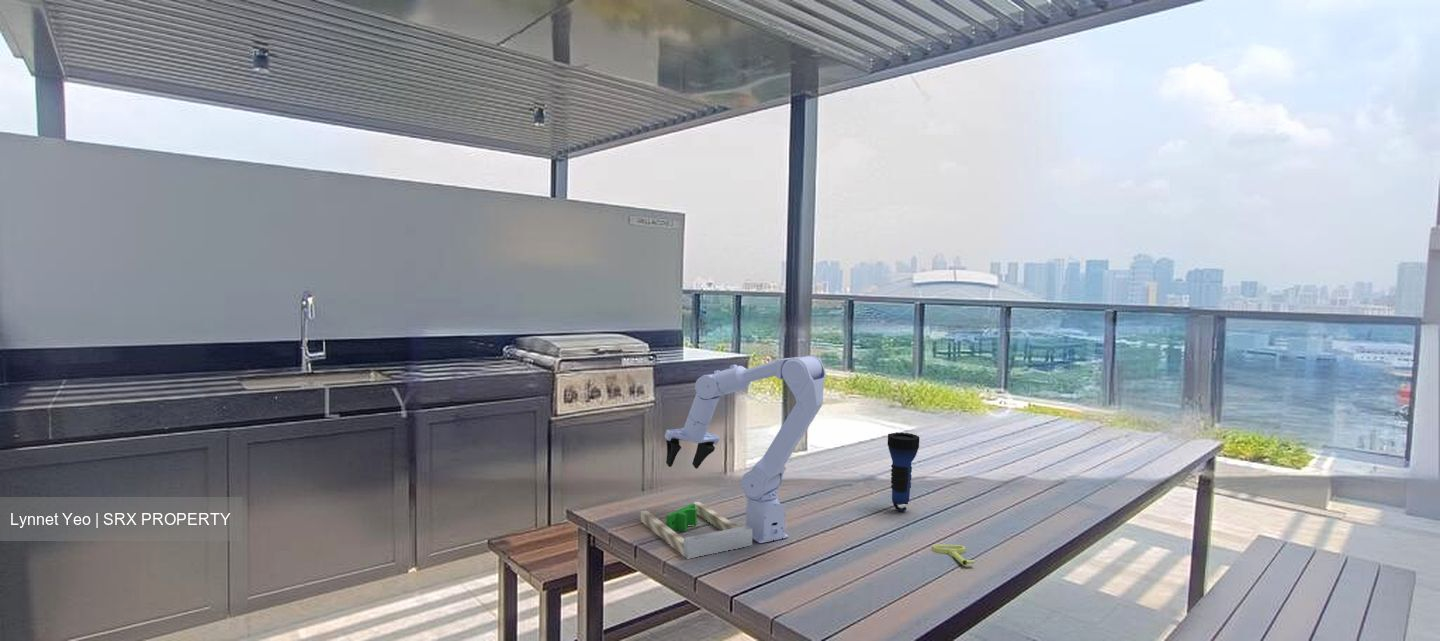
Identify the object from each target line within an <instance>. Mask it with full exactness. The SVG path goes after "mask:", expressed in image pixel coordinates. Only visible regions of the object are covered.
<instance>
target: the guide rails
mask: <svg viewBox="0 0 1440 641" xmlns="http://www.w3.org/2000/svg"><path fill="white" fill-rule="evenodd" d="M692 504H695V509H697V514H698V515H700V516H701V517H700V516H699V517H700V518H702V517H703V518H704V519H703V518H702V519H703V520H705V521H706V520H707V521H706V522H708V523H709V522H710V523H709V524H711V525H712V524H713V525H712V526H714V527H715V526H716V527H715V528H716V529H718V528H719V529H718V530H719V531H721V530H727V529H732V528H737V527H740V526H739V525H737V524H735V523H734V522H732V521H730V520H729V519H728V518H726V517H725V516H722V515H721V514H719V513H717V512H716V511H715V510H713V509H711V508H710V507H709V506H707V505H705V504H703V503H702V502H700V501H694V502H693V503H692ZM698 515H697V516H698ZM640 522H641V523H643V525H645V526H646V527H647V528H648V529H650V530H651V531H652V532H653V533H655V535H657V536H659V537H660V538H661V539H662V540H663V541H664V540H665V541H664V542H665V543H666V544H668V545H669V544H670V545H669V546H670V547H672V548H673V549H674V548H675V549H676V550H675V549H674V550H675V551H677V552H678V553H679V552H680V553H681V554H680V553H679V554H680V555H681V556H682V557H684V538H685V537H682V536H681V535H680V534H679V533H677V532H676V531H673V530H672V529H670V528H669V527H668V526H667V525H666V523H664V522H663V521H661V520H660V519H659V518H657V516H655V515H654V514H652V513H651V512H650V511H649V510H641V511H640Z"/></svg>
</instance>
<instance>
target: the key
mask: <svg viewBox="0 0 1440 641" xmlns="http://www.w3.org/2000/svg"><path fill="white" fill-rule="evenodd" d="M931 550H932V551H933V552H934V553H938V554H941V555H942V554H943V555H949V556H950V557H952V558H954V559H955V560H956V561H957V562H958V563H960V564H961V565H963V567H964V566H965V567H966V566H968V565H969V564H970V565H975V561H974V560H973V559H965V558H964V557H963V556H962V555H963V554H966V552H967V549H966V547H965V546H964V545H960V544H932V545H931Z"/></svg>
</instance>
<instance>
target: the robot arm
mask: <svg viewBox="0 0 1440 641" xmlns="http://www.w3.org/2000/svg"><path fill="white" fill-rule="evenodd" d="M772 377H776V378H777V379H778V380H781V381H782V380H784V382H785V383H786V385H787V386H788V389H789V390H790V391H791V393H792V395H793V396H794V399H795V402H796V403H795V404H794V406H793V408H792V409H791V411H790V412H789V414H788V416H787V418H786V419H785V420H784V423H783V424H782V425H781V427H780V429H779V430H778V432H777V434H776V435H775V437H774V439H773V440H772V442H771V444H770V445H769V447H768V448H767V450H766V451H765V453H764V455H763V456H762V457H761V458H760V459H759V460H758V461H757V462H756V463H755V464H754V465H753V466H752V468H751V469H750V470H749V471H747V472H745V473H744V474H743V476H742V478H741V481H740V484H741V490H742V492H743V493H744V495H745V498H746V504H745V505H746V506H745V507H746V508H745V509H746V511H745V512H746V513H745V514H746V515H745V516H746V517H745V526H749V527H751V528H752V540H754V541H755V542H757V543H758V544H762V543H763V544H764V543H767V542H773V540H774V541H779V540H782V538H783V539H787V537H788V538H789V534H786V510H785V507H784V506H783V504H781V503H780V501H779V500H778V499H779V498H778V488H780V486H781V485H782V483H783V477H784V476H783V475H784V473H785V471H786V470H787V468H786V466H785V465H786V463H787V462H788V461H789V459H790V458H791V455H792V454H793V453H794V451H795V450H796V448H797V446H798V444H799V443H800V442H801V440H802V438H803V436H804V435H805V433H806V432H807V430H808V429H809V427H810V426H811V425H812V423H813V421H814V419H815V418H816V416H817V415H818V412H819V411H820V410H821V408H822V405H823V401H824V387H825V385H824V384H825V380H826V377H827V371H826V370H825V367H824V364H823V362H822V360H821V359H820V358H819V357H817V356H816V355H813V354H809V355H808V354H807V355H804V356H795V357H785V358H781V359H775V360H771V361H768V362H766V363H762V364H760V365H756V366H753V367H749V368H745V367H744V366H742V365H737V364H731V365H729V368H726V369H724V370H720V369H718V370H714V371H713V373H712V374H711V373H710V374H703V375H701V376H700V377H698V378H697V380H696V381H695V383H694V384H695V385H694V387H695V389H694V390H695V393H696V394H695V396H694V399H693V402H692V403H691V407H690V410H689V413H688V415H687V418H686V421H685V424H684V426H683V428H675V429H666V431H665V433H664V438H665V442H666V462H665V463H666V465H667V466H668V467H669V468H671V467H672V466H673V465H674V462H675V460H676V457H677V455H678V453H679V451H680V450H682V446H681V445H680V441H686V442H691V443H695V444H697V447H696V452H695V454H694V457H693V460H692V465H693V467H694V469H696V470H697V469H699V468H700V466H701V465H702V463H703V462H704V461H705V460H706V458H707V457H708V456H709V455H711V454H712V453H713V452H714V451H715V450H716V447H715V446H717V445H718V443H719V441H720V437H719V435H717V434H716V433H710V432H707V431H708V429H709V426H710V424H711V421H712V418H713V416H714V413H715V410H716V409H717V405H718V404H719V401H720V398H721V397H723V396H725V395H728V394H732V393H735V392H739V391H744V390H746V389H748V388H749V387H750V385H751V382H755V381H759V380H763V379H768V378H772ZM714 445H715V446H714Z"/></svg>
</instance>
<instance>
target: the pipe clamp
mask: <svg viewBox="0 0 1440 641" xmlns="http://www.w3.org/2000/svg"><path fill="white" fill-rule="evenodd" d="M665 516H666V517H665V525H667V526H668V527H669V528H670V529H672V530H673V531H674V530H675V531H680V530H682V531H681V532H684V531H686V530H688V528H687V527H689V526H688V525H694V526H693V527H697V526H698V525H697V524H698V523H697V522H698V521H697V520H698V515H697V509H695V504H693V503H690V504H688V505H685V506H684V507H681V508H679V509H678V510H675V511H673V512H671V513H669V514H667V515H665ZM696 525H697V526H696ZM676 529H677V530H676ZM675 531H674V532H675ZM686 532H687V531H686Z"/></svg>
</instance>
